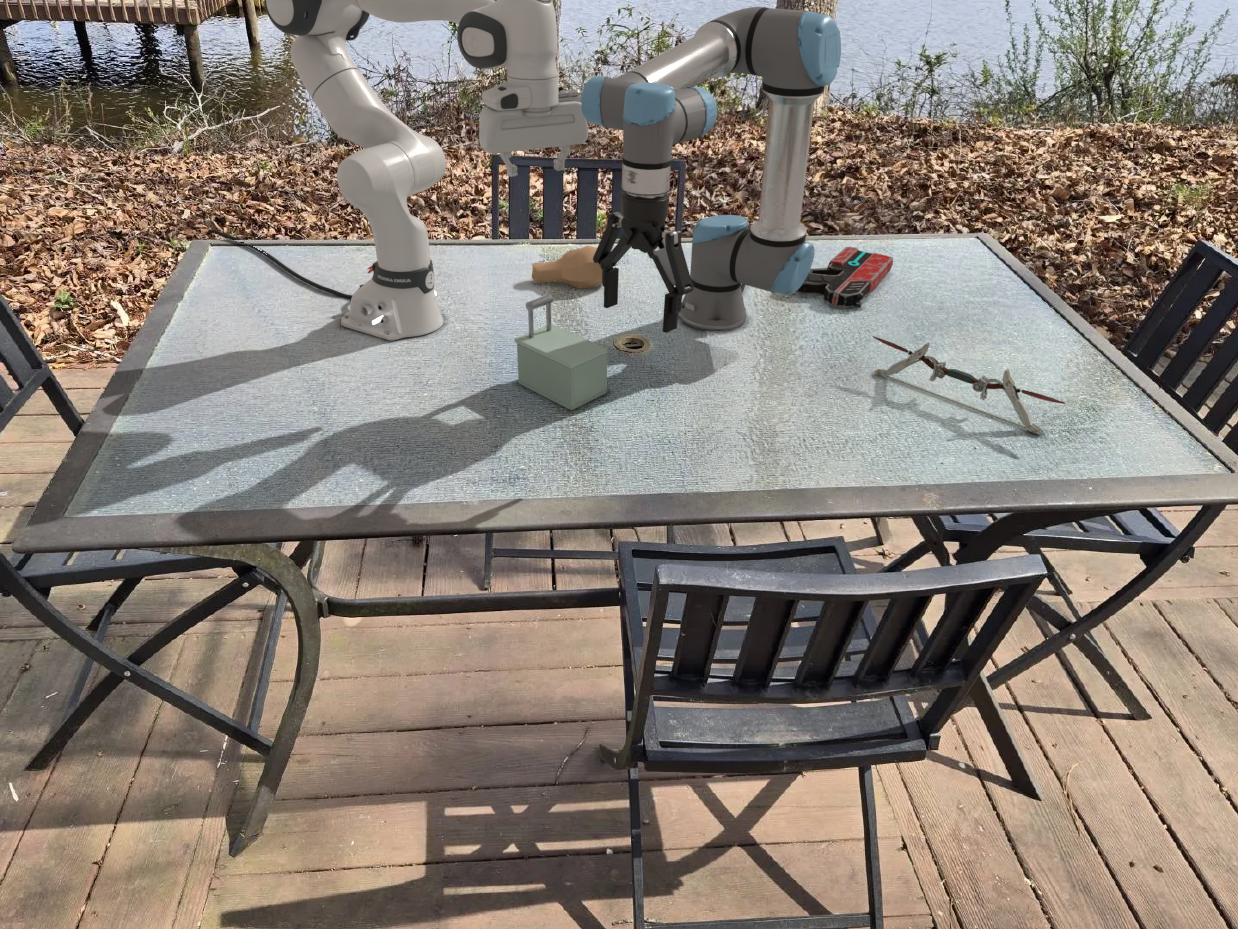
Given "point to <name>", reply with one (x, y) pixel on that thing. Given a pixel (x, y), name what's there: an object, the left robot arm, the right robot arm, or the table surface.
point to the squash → (571, 269)
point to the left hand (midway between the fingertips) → (536, 172)
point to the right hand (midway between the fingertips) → (639, 317)
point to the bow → (978, 385)
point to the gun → (847, 277)
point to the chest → (562, 378)
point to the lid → (557, 339)
